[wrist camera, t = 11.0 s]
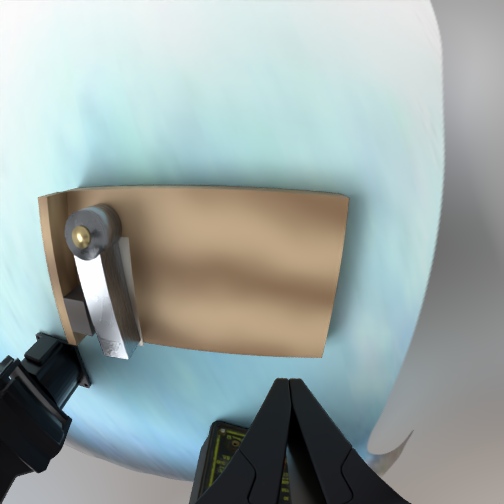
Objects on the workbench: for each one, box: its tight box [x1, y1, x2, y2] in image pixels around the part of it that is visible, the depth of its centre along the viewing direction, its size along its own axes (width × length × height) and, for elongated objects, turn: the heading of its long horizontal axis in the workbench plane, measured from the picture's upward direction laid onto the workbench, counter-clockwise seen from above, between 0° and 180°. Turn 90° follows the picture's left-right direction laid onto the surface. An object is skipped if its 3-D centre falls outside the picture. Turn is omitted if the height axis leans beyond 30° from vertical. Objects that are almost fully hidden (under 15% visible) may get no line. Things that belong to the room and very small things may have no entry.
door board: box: [38, 185, 349, 358], centre depth 18 cm, size 12×20×4 cm, turn 87°
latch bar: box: [65, 203, 141, 359], centre depth 17 cm, size 11×3×3 cm, turn 2°
